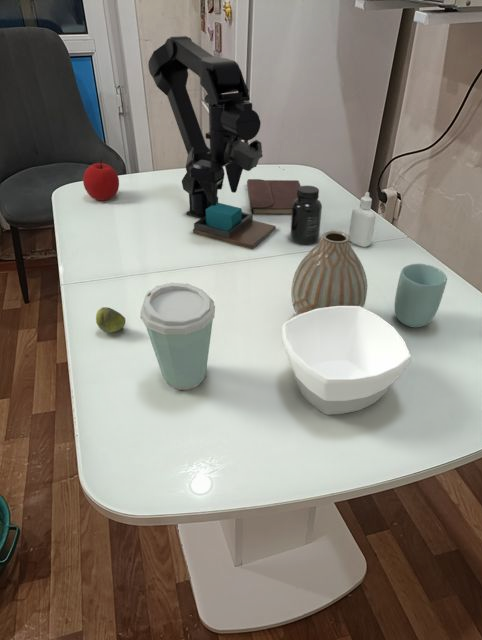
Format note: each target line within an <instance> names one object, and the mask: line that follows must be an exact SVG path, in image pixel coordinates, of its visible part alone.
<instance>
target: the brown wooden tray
mask: <svg viewBox="0 0 482 640" xmlns="http://www.w3.org/2000/svg"><path fill="white" fill-rule="evenodd" d="M276 228H277V227H276V225H275V224H270V223H265V222H261V221H258V220H254V214H252V213H249V212H243V211H242V221H240V222H239V223H238V224H236V225H235V226H234V227H232V228H231V229H230V230H228V231H227V230H223V229H219V228H215V227H212V226H208V225H206V216H204V217H203V218H199V219H198V220H197V221H195V222H193V229H192V234H194V235H197V236H201V237H205V238H209V239H213V240H217V241H220V242H224V243H228V244H231V245H236V246H239V247H243V248H246V249H250V250H254V249H255V248H256V247H257V246H258V245H259V244H261V243H262V242H263V241H264V240H265V239H266V238H268V237H269V236H270V235H271V234H272V233H273V232H275V231H276Z"/></svg>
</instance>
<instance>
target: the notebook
mask: <svg viewBox="0 0 482 640" xmlns="http://www.w3.org/2000/svg"><path fill="white" fill-rule="evenodd" d="M246 185H247V193H248V199H249V207H250V214H252V215H291V214H292V203H293V202H294V200H295V199H297V189H298V188H299V187H301V186H302V185H301V183H300V181H299V180H296V179H293V180H292V179H291V180H290V179H270V180H269V179H261V178H252V179H251V178H247V181H246Z"/></svg>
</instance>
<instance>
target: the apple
mask: <svg viewBox="0 0 482 640" xmlns="http://www.w3.org/2000/svg"><path fill="white" fill-rule="evenodd" d="M82 183H83V187H84V189H85V191H86V193H87V195H88V196H90V197H91V198H92V199H94V200H97V201H108V200H110V199H112V198H113V197H115V196H116V195H117V193H118V191H119V188H120V179H119V175H118V173H117V171H116V170H115V169H114V168H113V167H112V166H111V165H110V164H107V163H105V162H104V163H103V159H102V158H100V162H96V163H92V164H91V165H89V166H88V167H87V168H86V170H85V171H84V174H83V178H82Z"/></svg>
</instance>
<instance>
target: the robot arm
mask: <svg viewBox="0 0 482 640" xmlns="http://www.w3.org/2000/svg"><path fill="white" fill-rule="evenodd" d="M147 65H148V71H149V75H150V76H151V77H152V79H153V81H154V84H155V86H156V87H157V88H158V89H159V90H160V91H161V92H162V93H163V94H164V95H165V96H166V97H167V99H168V102H169V105H170V108H171V111H172V113H173V117H174V119H175V121H176V125H177V128H178V130H179V133H180V136H181V138H182V142H183V145H184V148H185V150H186V153H187V158H186V163H185V170H186V173H185V174H184V176H183V178H182V179H181V187H182V190H183V191H185V192H186V193H187V194H188V200H189V201H188V202H189V203H188V204H189V210H188V211H186V213H185V214H186V215H187V216H190V217H195V218H198V219H201V218H203V217H204V216H206V209H207V208H209V207H210V206H212V205H213V206H216V203H219V196H218V191H219V190H223V189H222V188H223V185H224V180H225V172H226V177H227V181H228V185H229V189H230V192H231V193H233V194H234V193H237V190H238V186H239V183H240V179H241V177H242V174H243V171H246V172H250V171H251V170H252V169H254V168H257V166H258V163H259V160H260V159H262V158H263V147H262V142H261V141H259V140H258V139H255V138H256V137H257V135H258V133H259V132H260V130H261V129H260V128H261V123H262V122H261V119H260V116H259V114H258V113H257V112H256V111H255V110H254V109H253V103H252V102H250V100H251V99H250V94H249V92H250V91H249V90H250V89H249V88H248V86H247V83H246V81H245V79H244V75H243V72H242V69H241V68H240V65H239V64H238V63H237V62H236V61H235V60H233V59H230V58H225V57H217V56H214V55H213V54H211V53H210V52H208V51H207V50H205V49H204V48H203V47H201V46H200V45H198V44H197V43H195V42H194V41H193V40H192V39H191V37H189V36H187V35H179V36H177V35H175V36H170V37H169V38H167V39H166V41H165V42H164V44H162V45H161V46H159V47H158V48H156V49H155V50H154V51H153V52H152V53H151V56H150V57H149V60H148V63H147ZM188 70H190V71H192V73H194V74H195V75H196V76H198V78H200V79H199V80H200V81H199V84H200V85H201V87H202V88H203V90H205V92H206V95H205V97H204V98H203V99H204V101H205V102H206V103H208V126H209V127H208V130H209V131H208V132H206V133H205V137H204V135H203V132H202V129H201V126H200V123H199V119H198V117H197V115H196V111H195V108H194V107H193V103H192V100H191V98H190V95H189V91H188V89H187V85H188V84H187V83H188V78H189V71H188ZM205 139H206V140H209V147H208V145H207V143H206V141H205ZM253 139H255V140H253ZM242 140H243V141H242ZM251 140H253V141H251ZM245 141H247V142H245ZM249 141H251V142H250V143H249ZM224 168H225V169H224Z"/></svg>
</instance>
